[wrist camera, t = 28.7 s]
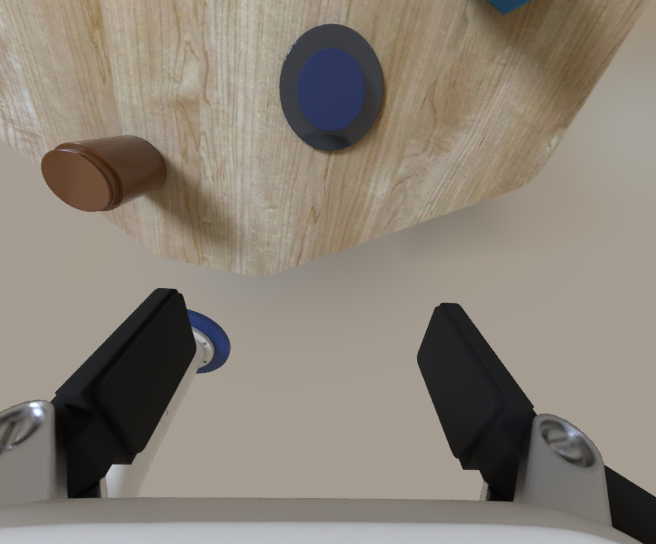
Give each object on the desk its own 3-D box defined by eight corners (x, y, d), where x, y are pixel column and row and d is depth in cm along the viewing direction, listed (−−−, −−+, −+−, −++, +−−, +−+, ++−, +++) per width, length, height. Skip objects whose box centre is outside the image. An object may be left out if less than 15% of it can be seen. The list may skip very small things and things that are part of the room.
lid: (307, 39, 25) (306, 34, 23) (373, 65, 26) (376, 62, 24) (291, 118, 28) (289, 119, 27) (350, 139, 29) (351, 140, 28)
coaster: (362, 161, 31) (362, 161, 31) (273, 134, 30) (272, 135, 29) (398, 47, 26) (399, 46, 25) (290, 7, 24) (289, 5, 24)
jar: (168, 196, 34) (119, 222, 26) (115, 183, 33) (48, 206, 25) (164, 144, 30) (107, 155, 22) (106, 128, 29) (24, 134, 21)
